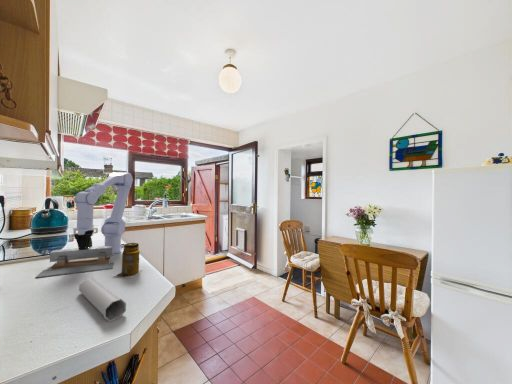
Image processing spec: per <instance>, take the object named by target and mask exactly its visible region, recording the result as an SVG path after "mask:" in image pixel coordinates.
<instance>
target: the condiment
mask: <svg viewBox="0 0 512 384" xmlns="http://www.w3.org/2000/svg"><path fill="white" fill-rule="evenodd" d="M139 245H140V244H139V243H138V242H129V243H125V244H124V245H123V251H122V252H121V253H122V254H121V256H122V258H121V259H122V260H121V272H119V273H118V274H115V275H114V276H113V278H118V279H132V278H133V277H135V276H137V275H140V273H142V272H143V271H144V269H140V248H139V247H140V246H139Z"/></svg>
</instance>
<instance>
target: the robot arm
mask: <svg viewBox="0 0 512 384" xmlns="http://www.w3.org/2000/svg"><path fill="white" fill-rule="evenodd" d="M133 181H134V178H133V176H132V173H130V172H116V171H114V172H111V173H110V174H108V177H107V178H105V179H104V180H103V181H102V182H101V183H100V182H99V183H98V182H97V183H96V182H95V183H93V184H92V185H91V186H90V187H88V188H86V189H85V190H84V191H79V192H77V193H76V194H75V196H74V197H73V201H74V202H75V207H76V209H77V210H76V211H77V212H76V213H77V214H76V215H77V216H76V227H73V228H72V230H73V231H74V230H77V231H76V232H77V233H78V234H74V233H73V237H74V239H75V240H76V243H77V247H78V248H79V250H85V249H86V246H88V245H89V242H90V238H92V236H91V235H92V233H93V232H95V230H92V229H93V225H94V204H95V205H96V203H97V202H98V200H99V198H100V197H101V196H103V195H104V194H105V193H106V192H107V189H108V188H110V187H111V186H113V187H115V189H117V194H116V197H115V200H114V204H113V207H112V210H111V214H110V217H108V218H106V219H105V221H104V222H103V224H102V226H101V229H100V232H101V234H102V235H103V237H104V246H113V255H115V254H121V253H122V248H123V247H121V246H122V243H121V242H122V236H123V235H124V233H125V231H126V222H125V220H124V219H123V215H124V211H125V209H126V204H127V200H128V197H129V193H130V189H132V184H133ZM78 231H79V232H78Z"/></svg>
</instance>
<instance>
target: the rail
mask: <svg viewBox="0 0 512 384" xmlns="http://www.w3.org/2000/svg"><path fill="white" fill-rule="evenodd" d="M99 253H105V257H106V256H111V257H113V255H114V254H113V246H105V245H104V246H102V245H101V246H92V247H89V248H86V249H85V250H79V248H77V247H76V248H68V249H67V248H65V249H55V250H54V249H53V250H52V251H50V252H49V263H56V262H57V258H58V257H65V256H66V260H76V259H86V258H96V257H98V254H99Z"/></svg>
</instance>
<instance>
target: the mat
mask: <svg viewBox="0 0 512 384" xmlns="http://www.w3.org/2000/svg"><path fill="white" fill-rule="evenodd" d="M114 265H115V262H113V261H111V262H109V263H103V264H94V265H85V266H76V267H67V268H58V269H51V268H50V269H43V270H42V271H41V272H39V273H38V275H36V276H35V277H34V278H35V279H40V278H41V279H42V278H49V277H56V276H57V277H58V276H64V275H72V274H73V275H74V274H81V273H89V272H96V271H105V270H106V271H107V270H113V269H114Z"/></svg>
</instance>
